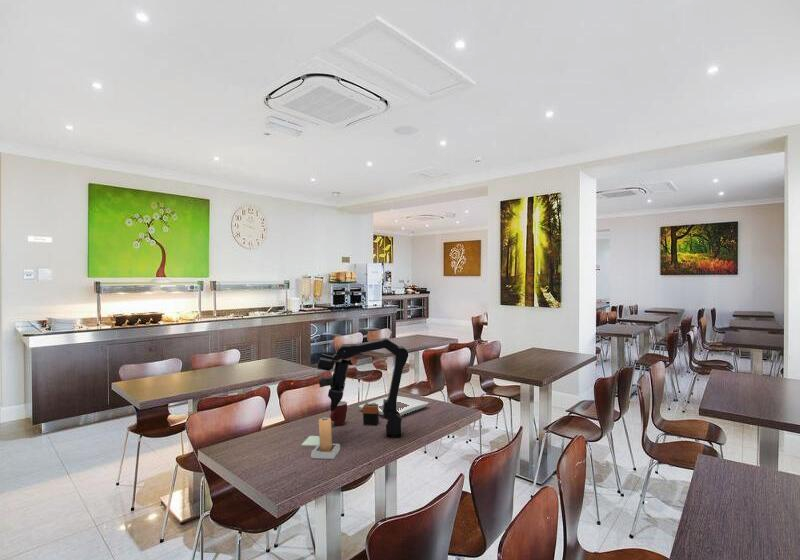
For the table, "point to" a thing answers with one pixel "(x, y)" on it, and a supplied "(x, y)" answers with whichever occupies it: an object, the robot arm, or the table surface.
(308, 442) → the mat
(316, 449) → the frame
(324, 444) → the plug
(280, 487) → the table surface
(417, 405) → the square plate
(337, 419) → the mug
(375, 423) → the battery
